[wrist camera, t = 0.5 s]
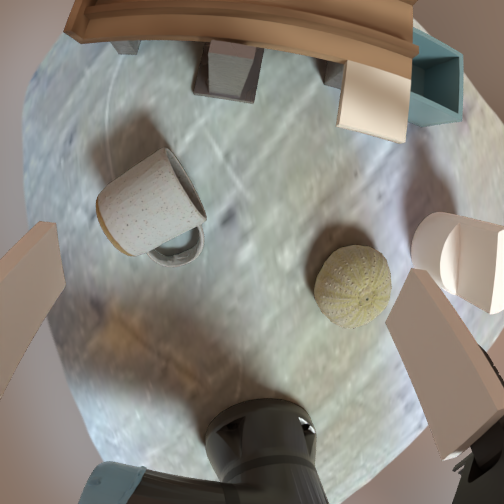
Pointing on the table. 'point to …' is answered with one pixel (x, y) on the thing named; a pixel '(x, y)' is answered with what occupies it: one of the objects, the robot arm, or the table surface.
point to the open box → (435, 83)
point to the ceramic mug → (152, 209)
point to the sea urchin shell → (353, 286)
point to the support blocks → (231, 69)
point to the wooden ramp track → (285, 42)
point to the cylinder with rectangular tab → (463, 257)
